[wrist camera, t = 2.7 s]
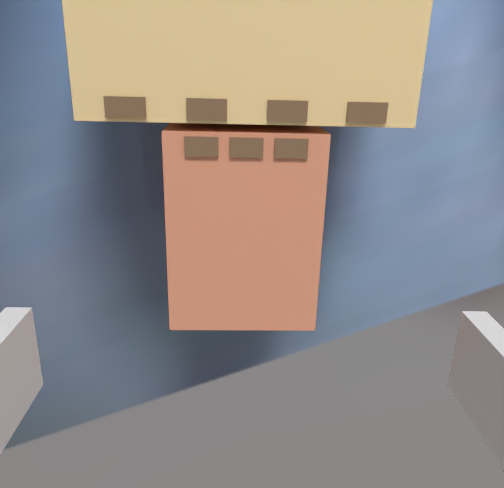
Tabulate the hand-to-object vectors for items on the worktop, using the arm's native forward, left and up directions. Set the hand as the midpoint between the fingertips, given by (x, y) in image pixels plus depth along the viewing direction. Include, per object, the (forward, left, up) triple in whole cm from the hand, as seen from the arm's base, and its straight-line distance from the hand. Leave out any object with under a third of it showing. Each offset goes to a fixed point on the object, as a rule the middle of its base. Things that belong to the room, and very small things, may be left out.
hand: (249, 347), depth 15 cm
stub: (-2, 0, -17) cm, 17 cm away
